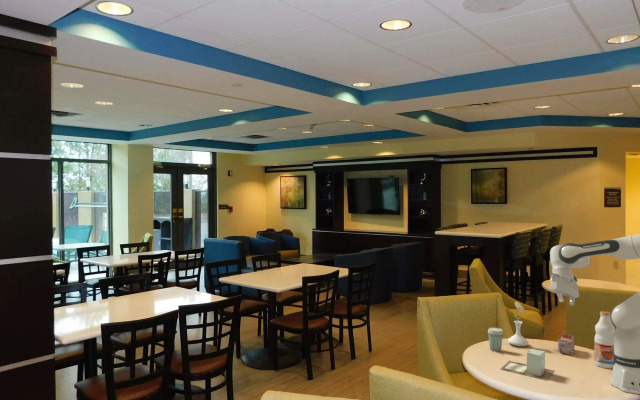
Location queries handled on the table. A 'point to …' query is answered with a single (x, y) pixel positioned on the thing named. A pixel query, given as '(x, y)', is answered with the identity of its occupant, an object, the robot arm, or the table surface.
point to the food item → (566, 344)
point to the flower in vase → (518, 330)
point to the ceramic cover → (535, 362)
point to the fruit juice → (604, 341)
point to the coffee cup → (495, 339)
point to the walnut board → (525, 370)
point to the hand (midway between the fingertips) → (567, 303)
